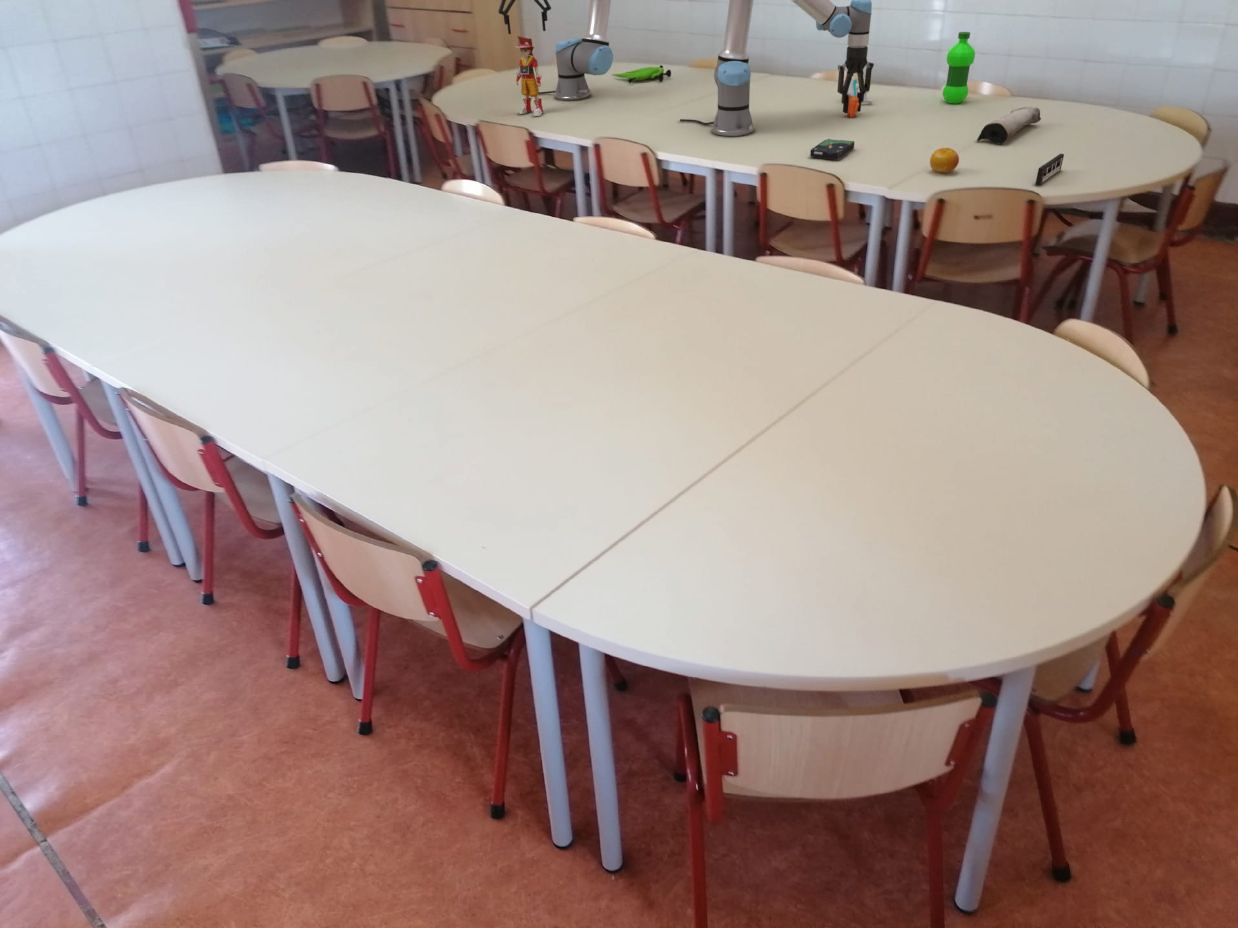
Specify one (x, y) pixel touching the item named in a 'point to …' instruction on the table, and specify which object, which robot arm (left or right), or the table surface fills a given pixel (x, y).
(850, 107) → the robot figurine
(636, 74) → the toy
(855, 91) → the anatomical model
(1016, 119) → the rolled mat
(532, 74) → the toy
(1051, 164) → the midi keyboard
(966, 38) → the plastic bottle
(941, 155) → the fruit
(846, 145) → the disk drive
